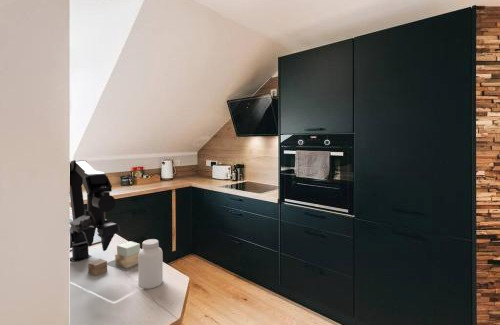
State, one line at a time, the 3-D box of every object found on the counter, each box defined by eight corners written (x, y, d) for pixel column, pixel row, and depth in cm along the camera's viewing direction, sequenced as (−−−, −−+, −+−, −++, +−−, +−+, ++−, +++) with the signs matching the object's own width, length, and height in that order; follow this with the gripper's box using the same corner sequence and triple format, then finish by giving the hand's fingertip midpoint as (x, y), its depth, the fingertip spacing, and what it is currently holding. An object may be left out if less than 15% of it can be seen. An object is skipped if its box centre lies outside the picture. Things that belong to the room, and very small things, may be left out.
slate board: (104, 265, 110) (104, 263, 110) (126, 256, 119) (126, 255, 119) (125, 272, 103) (125, 271, 103) (147, 263, 112) (147, 261, 112)
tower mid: (117, 254, 110) (117, 245, 109) (130, 249, 115) (130, 241, 115) (126, 257, 107) (126, 248, 106) (139, 252, 112) (139, 243, 112)
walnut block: (88, 274, 102) (88, 262, 102) (100, 269, 106) (99, 258, 106) (95, 277, 100) (95, 265, 100) (107, 272, 104) (106, 261, 103)
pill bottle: (155, 290, 91) (154, 246, 90) (133, 287, 93) (132, 244, 92) (167, 279, 99) (166, 238, 98) (146, 277, 101) (146, 236, 100)
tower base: (115, 264, 110) (115, 254, 109) (130, 257, 116) (130, 248, 115) (126, 268, 106) (126, 258, 106) (141, 261, 112) (141, 252, 112)
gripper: (59, 207, 99) (60, 250, 100) (89, 215, 90) (90, 261, 91) (90, 202, 109) (90, 241, 110) (119, 208, 99) (120, 250, 101)
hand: (97, 248), depth 102 cm, fingers open, 9 cm apart
